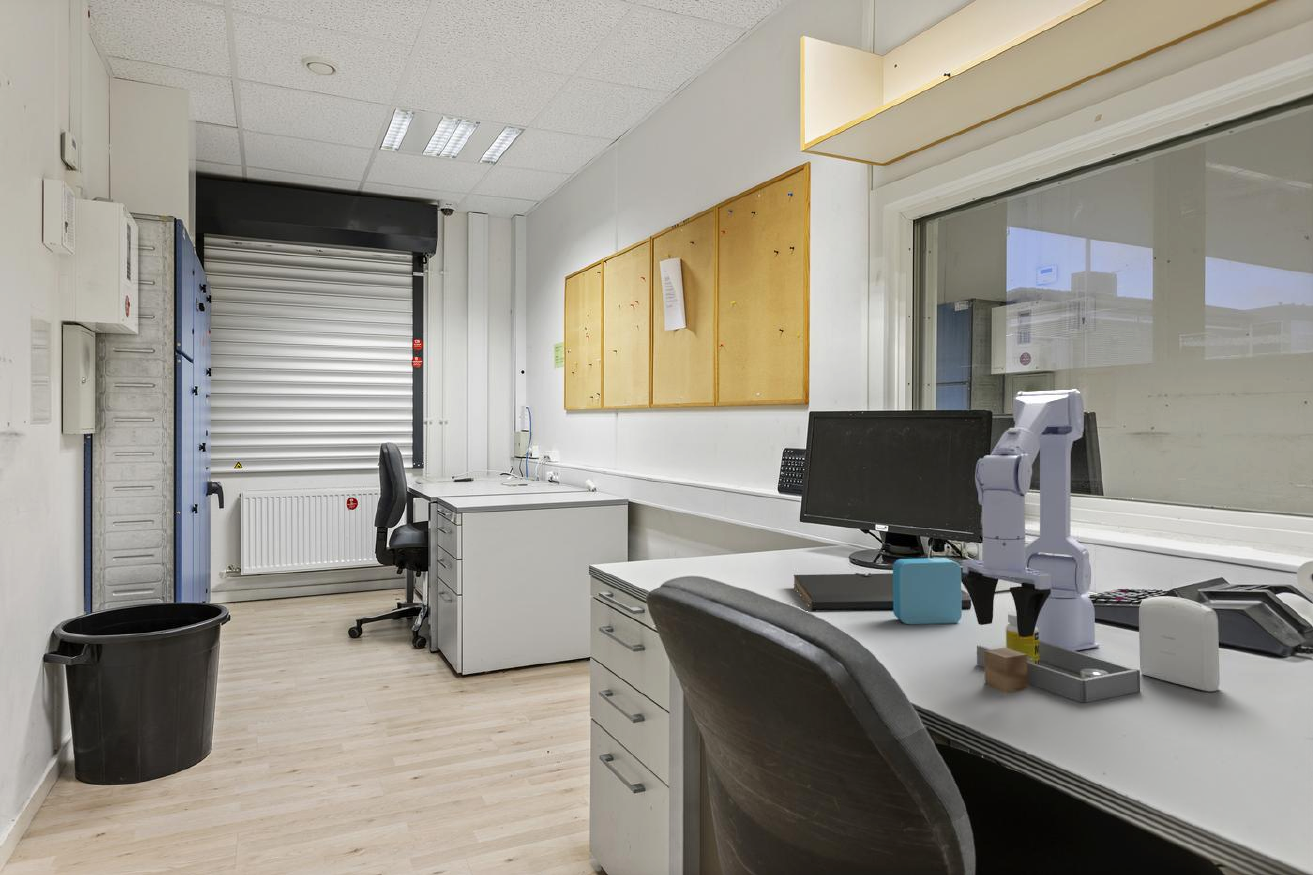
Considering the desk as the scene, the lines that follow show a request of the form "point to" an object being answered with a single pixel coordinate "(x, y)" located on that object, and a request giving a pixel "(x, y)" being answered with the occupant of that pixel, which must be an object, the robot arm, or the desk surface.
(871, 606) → the file folder
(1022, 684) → the walnut block
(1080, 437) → the robot arm
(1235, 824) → the desk surface
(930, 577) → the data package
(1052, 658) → the bay
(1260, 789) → the desk surface
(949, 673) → the desk surface
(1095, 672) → the metal cylinder
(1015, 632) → the supplement bottle
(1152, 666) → the photo printer
